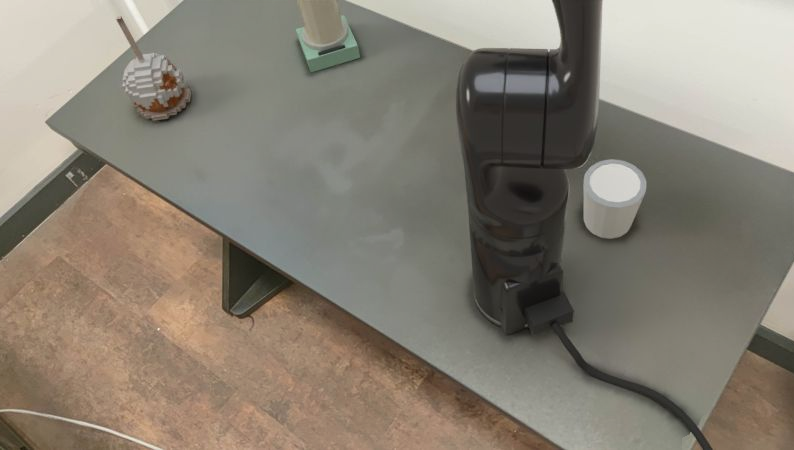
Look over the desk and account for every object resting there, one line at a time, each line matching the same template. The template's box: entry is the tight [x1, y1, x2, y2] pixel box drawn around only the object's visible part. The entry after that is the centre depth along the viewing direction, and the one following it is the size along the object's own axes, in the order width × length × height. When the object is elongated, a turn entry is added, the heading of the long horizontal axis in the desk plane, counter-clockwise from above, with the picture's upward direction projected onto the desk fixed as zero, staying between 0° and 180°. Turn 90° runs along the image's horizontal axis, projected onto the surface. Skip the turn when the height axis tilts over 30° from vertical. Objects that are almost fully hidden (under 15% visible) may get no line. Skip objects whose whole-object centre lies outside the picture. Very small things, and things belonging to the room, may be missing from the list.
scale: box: [295, 14, 361, 73], centre depth 104 cm, size 8×8×3 cm
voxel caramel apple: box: [115, 15, 192, 122], centre depth 95 cm, size 8×8×15 cm
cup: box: [296, 0, 343, 44], centre depth 99 cm, size 5×5×8 cm
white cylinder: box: [582, 158, 647, 240], centre depth 80 cm, size 7×7×7 cm
